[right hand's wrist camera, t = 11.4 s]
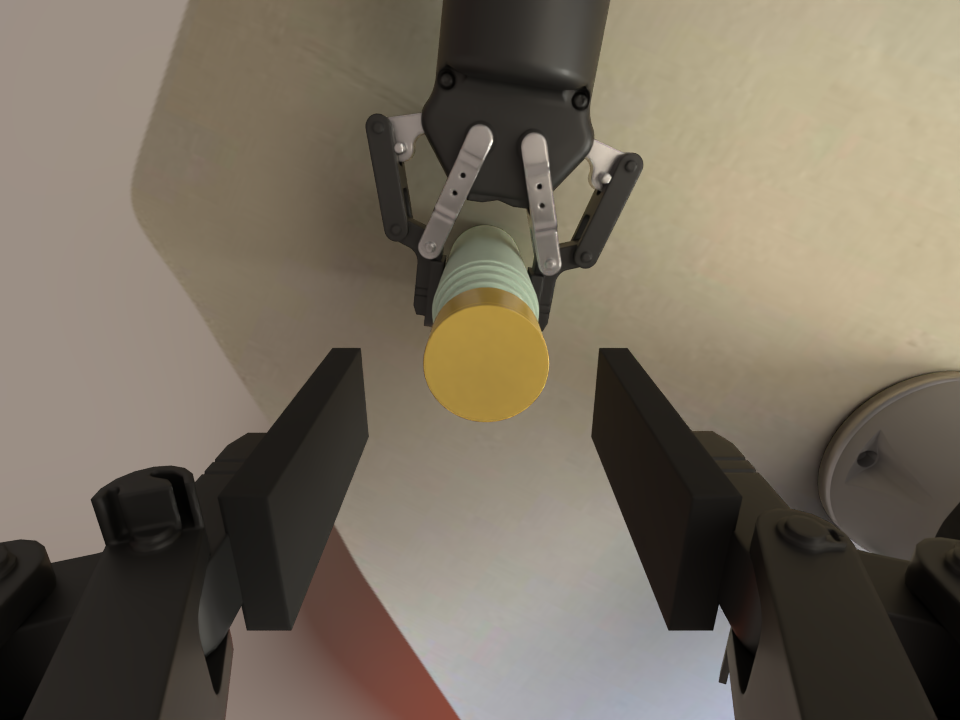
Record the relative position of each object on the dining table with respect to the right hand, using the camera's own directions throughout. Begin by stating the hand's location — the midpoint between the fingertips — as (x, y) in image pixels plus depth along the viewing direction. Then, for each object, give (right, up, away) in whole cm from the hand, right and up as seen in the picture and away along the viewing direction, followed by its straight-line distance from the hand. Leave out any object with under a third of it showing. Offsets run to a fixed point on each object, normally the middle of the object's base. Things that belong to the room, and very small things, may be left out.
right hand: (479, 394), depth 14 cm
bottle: (0, +8, +20) cm, 22 cm away
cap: (0, +1, +3) cm, 3 cm away
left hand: (0, +3, +15) cm, 15 cm away
